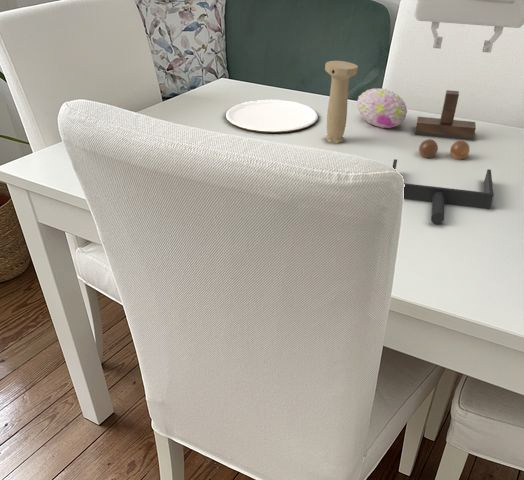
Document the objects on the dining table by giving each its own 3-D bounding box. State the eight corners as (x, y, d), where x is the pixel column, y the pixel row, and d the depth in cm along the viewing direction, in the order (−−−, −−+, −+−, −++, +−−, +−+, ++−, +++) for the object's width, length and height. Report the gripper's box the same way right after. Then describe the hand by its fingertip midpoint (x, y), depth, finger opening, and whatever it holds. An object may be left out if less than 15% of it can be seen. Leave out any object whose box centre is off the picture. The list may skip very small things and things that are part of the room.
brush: (471, 136, 123) (482, 92, 117) (472, 142, 120) (483, 97, 114) (415, 130, 125) (423, 87, 119) (414, 136, 122) (422, 92, 116)
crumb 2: (466, 156, 114) (471, 138, 112) (467, 163, 111) (471, 145, 109) (448, 154, 115) (452, 137, 112) (448, 161, 112) (452, 143, 110)
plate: (208, 125, 126) (208, 120, 125) (252, 99, 140) (252, 94, 139) (294, 142, 119) (294, 136, 118) (331, 113, 133) (331, 107, 132)
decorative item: (371, 90, 130) (387, 63, 121) (402, 127, 131) (421, 103, 121) (343, 112, 128) (358, 86, 119) (375, 149, 129) (392, 127, 119)
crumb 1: (436, 155, 114) (439, 137, 112) (435, 162, 112) (439, 144, 109) (417, 153, 115) (421, 135, 113) (416, 160, 112) (420, 142, 110)
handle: (339, 149, 116) (346, 70, 106) (315, 141, 119) (320, 63, 110) (353, 143, 119) (362, 65, 109) (330, 135, 122) (336, 59, 112)
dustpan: (486, 185, 104) (490, 169, 102) (491, 234, 90) (496, 216, 88) (391, 174, 107) (394, 159, 105) (382, 220, 93) (384, 203, 91)
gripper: (420, -37, 101) (406, 49, 111) (541, -30, 98) (516, 58, 107) (422, -41, 106) (408, 41, 115) (537, -35, 103) (514, 50, 112)
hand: (461, 49), depth 111 cm, fingers open, 8 cm apart
